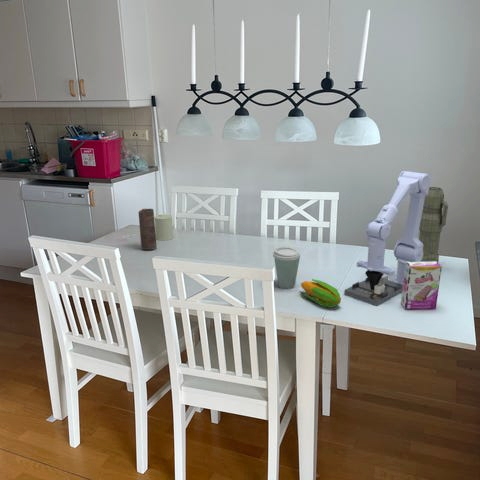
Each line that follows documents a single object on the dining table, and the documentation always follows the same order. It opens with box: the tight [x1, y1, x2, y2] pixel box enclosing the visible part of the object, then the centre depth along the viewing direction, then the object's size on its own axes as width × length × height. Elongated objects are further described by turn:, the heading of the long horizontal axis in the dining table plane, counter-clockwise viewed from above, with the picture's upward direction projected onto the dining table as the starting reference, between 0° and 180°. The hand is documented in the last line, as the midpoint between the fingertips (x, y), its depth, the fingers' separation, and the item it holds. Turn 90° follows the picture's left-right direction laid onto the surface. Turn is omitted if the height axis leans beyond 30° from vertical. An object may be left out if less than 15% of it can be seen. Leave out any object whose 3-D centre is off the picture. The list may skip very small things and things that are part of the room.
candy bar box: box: [400, 261, 443, 311], centre depth 168 cm, size 11×5×16 cm, turn 92°
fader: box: [379, 274, 389, 285], centre depth 185 cm, size 3×2×3 cm
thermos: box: [418, 186, 449, 263], centre depth 200 cm, size 9×12×35 cm
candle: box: [138, 208, 157, 250], centre depth 234 cm, size 8×7×20 cm
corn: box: [300, 278, 342, 308], centre depth 176 cm, size 7×8×20 cm
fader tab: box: [374, 283, 385, 295], centre depth 177 cm, size 3×2×3 cm
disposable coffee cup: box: [272, 246, 301, 290], centre depth 188 cm, size 11×11×15 cm
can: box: [154, 213, 174, 241], centre depth 252 cm, size 9×9×12 cm
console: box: [343, 277, 403, 307], centre depth 183 cm, size 20×14×3 cm
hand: (373, 289), depth 179 cm, fingers closed
